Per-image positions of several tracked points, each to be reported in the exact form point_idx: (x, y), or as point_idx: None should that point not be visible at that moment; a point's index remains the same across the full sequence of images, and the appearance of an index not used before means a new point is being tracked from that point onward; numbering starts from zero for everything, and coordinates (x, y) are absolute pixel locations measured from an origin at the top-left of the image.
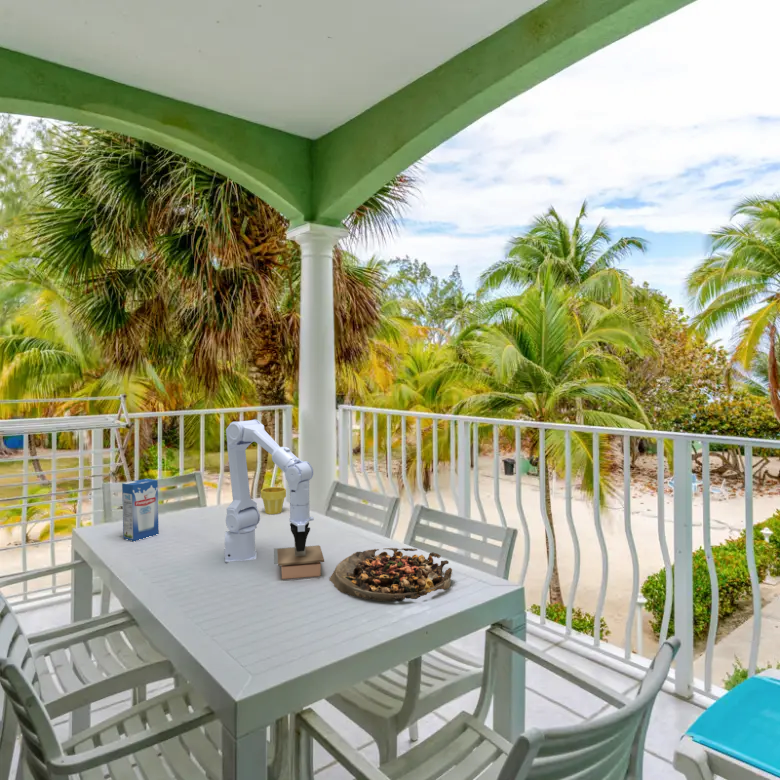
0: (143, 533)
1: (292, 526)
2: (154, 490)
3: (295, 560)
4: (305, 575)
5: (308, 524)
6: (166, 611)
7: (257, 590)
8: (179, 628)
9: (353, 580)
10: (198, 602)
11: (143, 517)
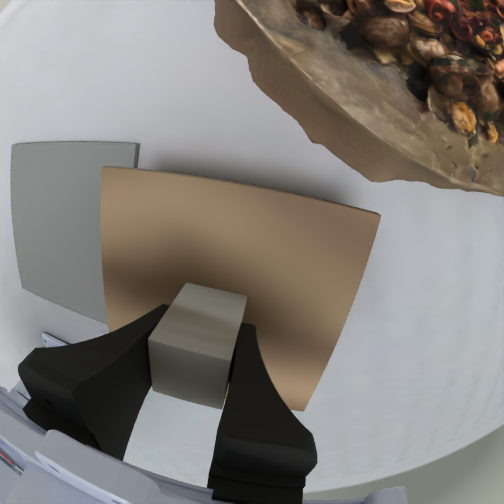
0: None
1: (119, 457)
2: None
3: (305, 356)
4: None
5: (81, 387)
6: (328, 485)
7: (329, 405)
8: (397, 470)
9: (494, 134)
10: (321, 468)
11: None
